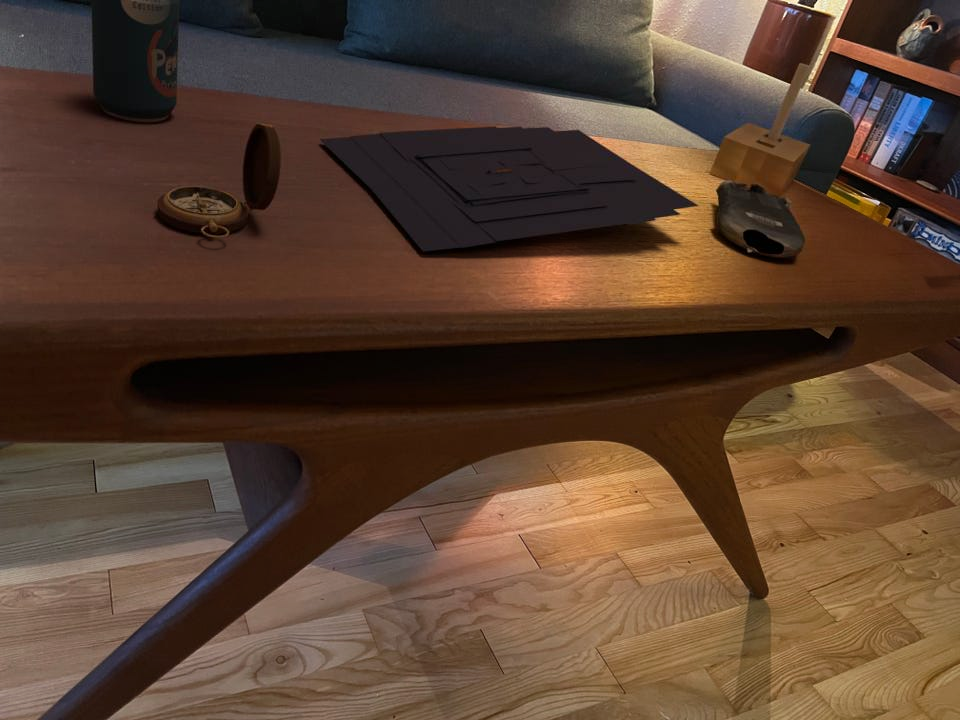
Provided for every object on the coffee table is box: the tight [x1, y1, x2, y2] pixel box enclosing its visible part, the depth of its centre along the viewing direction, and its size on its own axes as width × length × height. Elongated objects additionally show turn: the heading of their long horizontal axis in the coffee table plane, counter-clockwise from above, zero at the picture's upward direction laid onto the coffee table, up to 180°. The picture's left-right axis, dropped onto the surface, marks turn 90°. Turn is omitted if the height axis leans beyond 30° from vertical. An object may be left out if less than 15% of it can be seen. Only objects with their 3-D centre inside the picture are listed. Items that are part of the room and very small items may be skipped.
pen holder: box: [709, 122, 811, 197], centre depth 106 cm, size 9×15×5 cm, turn 151°
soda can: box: [90, 0, 180, 123], centre depth 69 cm, size 7×7×12 cm
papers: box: [318, 126, 700, 252], centre depth 75 cm, size 24×30×4 cm
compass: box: [154, 122, 282, 239], centre depth 55 cm, size 8×8×7 cm
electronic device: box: [715, 180, 806, 259], centre depth 84 cm, size 9×6×15 cm
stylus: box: [767, 62, 811, 141], centre depth 106 cm, size 1×1×15 cm
